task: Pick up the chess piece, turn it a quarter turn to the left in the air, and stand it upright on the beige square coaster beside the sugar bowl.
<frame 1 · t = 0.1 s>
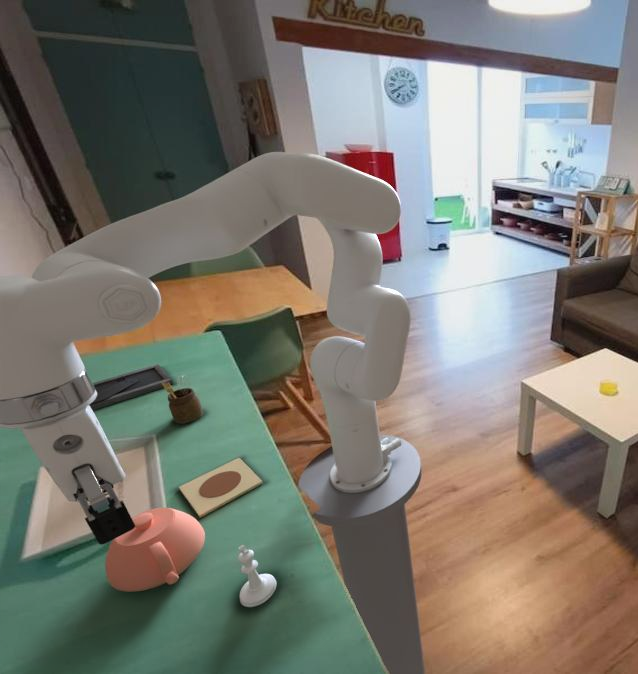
hand: (107, 513, 51), 21 cm above the table, tool pointing down, fingers open, 9 cm apart
chess piece: (258, 591, 64), on the table
sugar bowl: (166, 567, 67), on the table
utensil holder: (189, 418, 103), on the table
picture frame: (127, 389, 114), on the table
beige square coaster: (221, 486, 83), on the table
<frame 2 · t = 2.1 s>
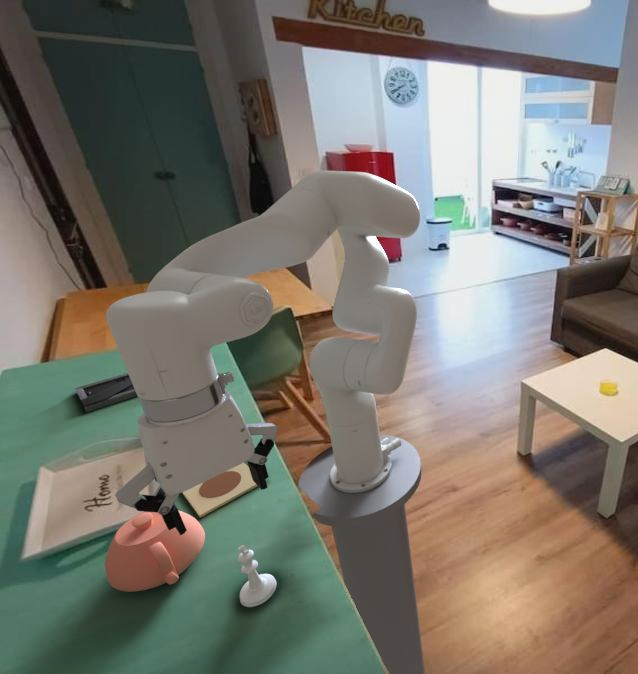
hand: (222, 504, 56), 18 cm above the table, tool pointing down, fingers open, 9 cm apart
nothing on the table moved.
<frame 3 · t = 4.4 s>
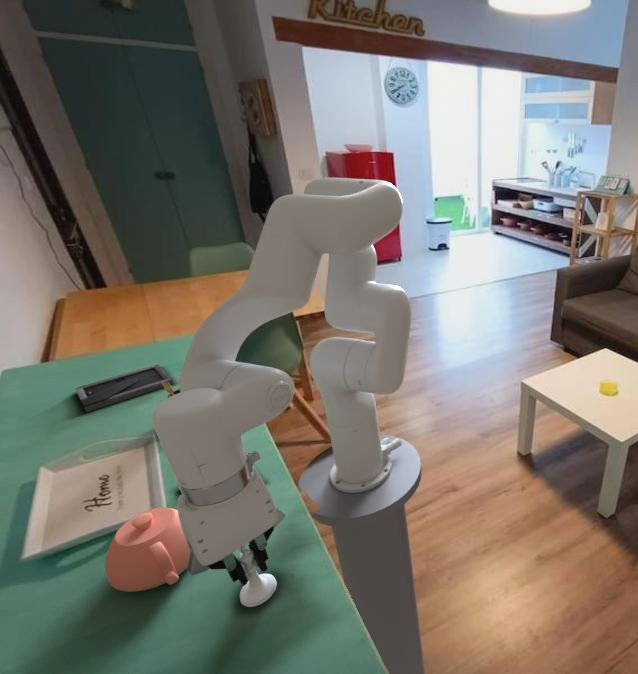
hand: (251, 571, 62), 5 cm above the table, tool pointing down, fingers closed on chess piece
chess piece: (259, 591, 64), on the table, touching gripper
everything else where it was.
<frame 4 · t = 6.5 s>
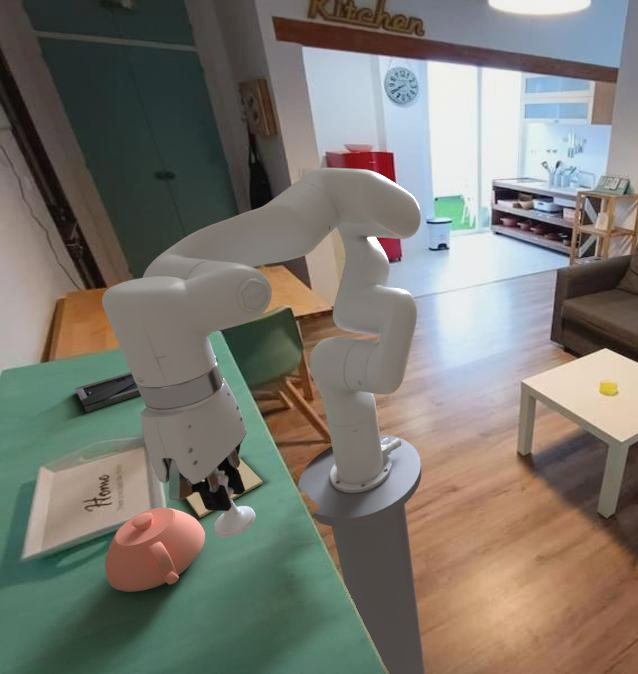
hand: (226, 499, 56), 19 cm above the table, tool pointing down, fingers closed on chess piece
chess piece: (235, 524, 58), point 14 cm above the table, touching gripper
everything else where it was.
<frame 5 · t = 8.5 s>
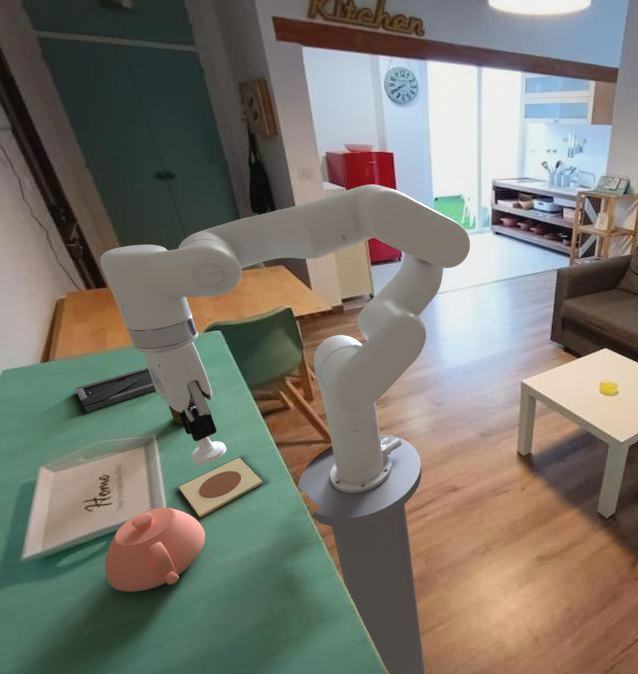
hand: (201, 432, 69), 19 cm above the table, tool pointing down, fingers closed on chess piece
chess piece: (209, 454, 71), point 14 cm above the table, touching gripper
everything else where it was.
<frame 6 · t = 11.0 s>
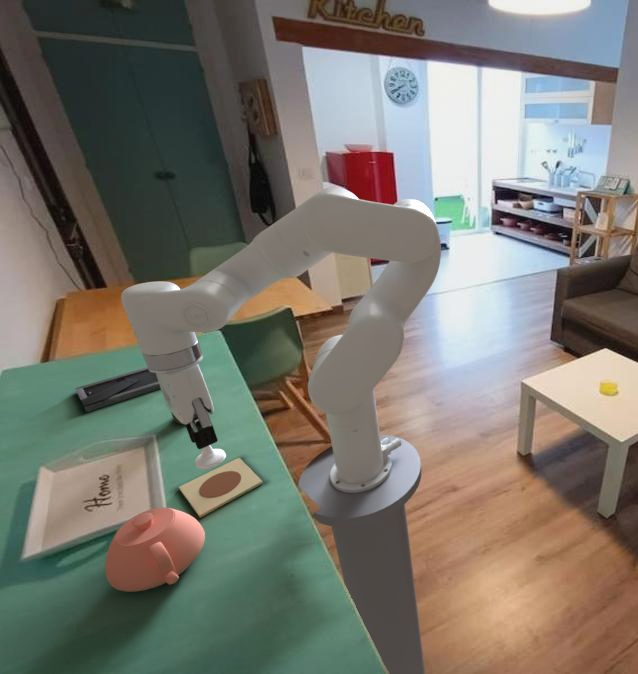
hand: (204, 441, 78), 11 cm above the table, tool pointing down, fingers closed on chess piece
chess piece: (211, 460, 80), point 7 cm above the table, touching gripper
everything else where it was.
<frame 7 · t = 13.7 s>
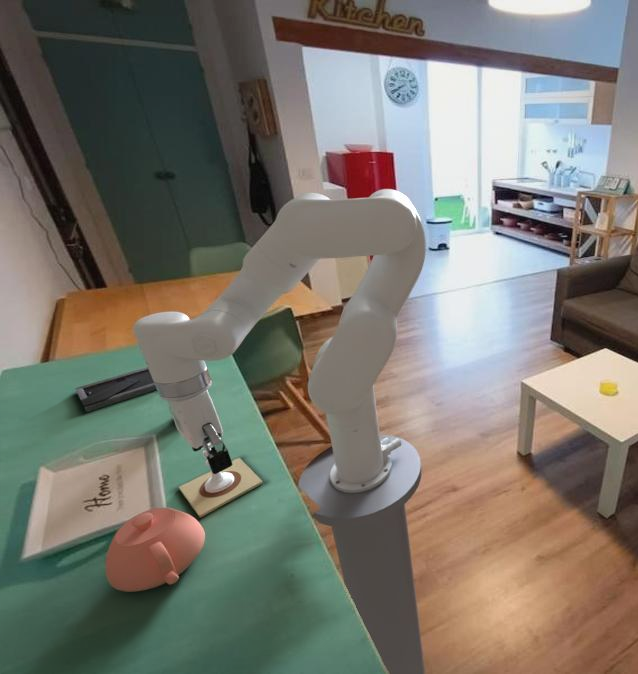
hand: (212, 458, 80), 7 cm above the table, tool pointing down, fingers open, 9 cm apart
chess piece: (220, 484, 83), point 1 cm above the table, touching beige square coaster
everything else where it was.
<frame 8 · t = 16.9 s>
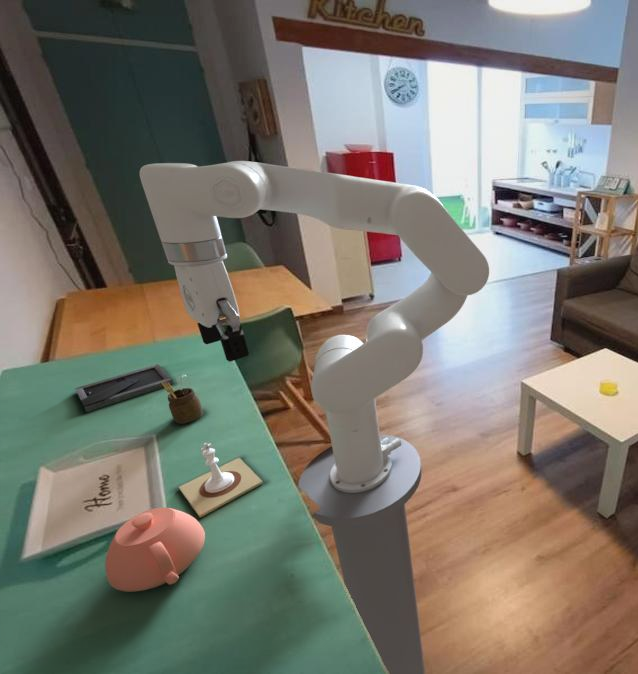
hand: (226, 349, 71), 30 cm above the table, tool pointing down, fingers open, 9 cm apart
nothing on the table moved.
at the end: chess piece inside the target area on the beige square coaster (0.1 cm from its centre), point 0.5 cm above the beige square coaster's base; chess piece tilted 0°; the gripper is holding nothing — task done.
